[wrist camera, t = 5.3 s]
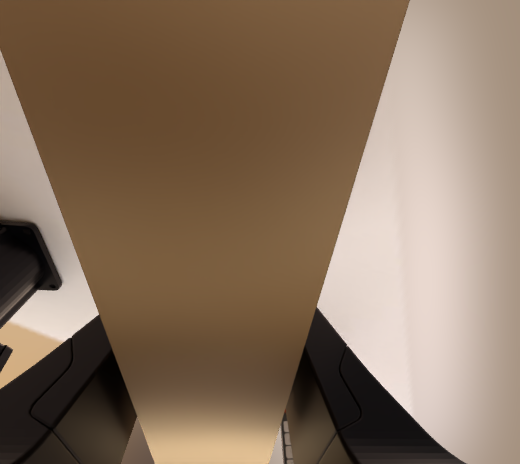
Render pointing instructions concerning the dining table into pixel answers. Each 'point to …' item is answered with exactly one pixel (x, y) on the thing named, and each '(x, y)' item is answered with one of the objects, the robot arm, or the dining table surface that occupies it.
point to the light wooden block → (203, 187)
